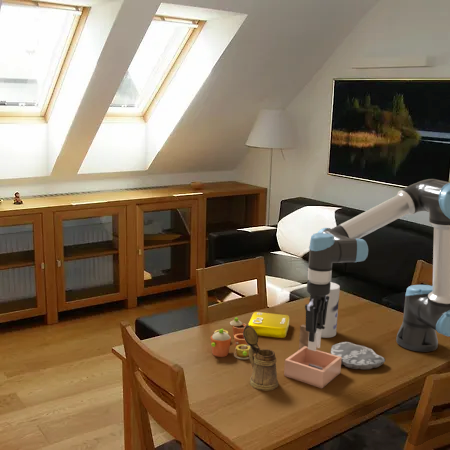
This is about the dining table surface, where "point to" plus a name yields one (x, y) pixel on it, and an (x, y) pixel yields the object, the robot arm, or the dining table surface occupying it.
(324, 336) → the container
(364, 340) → the dining table surface
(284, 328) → the element tile
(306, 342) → the tall beige block
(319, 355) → the pink open box
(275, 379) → the wooden mug
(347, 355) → the brain slice
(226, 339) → the toy tea set
